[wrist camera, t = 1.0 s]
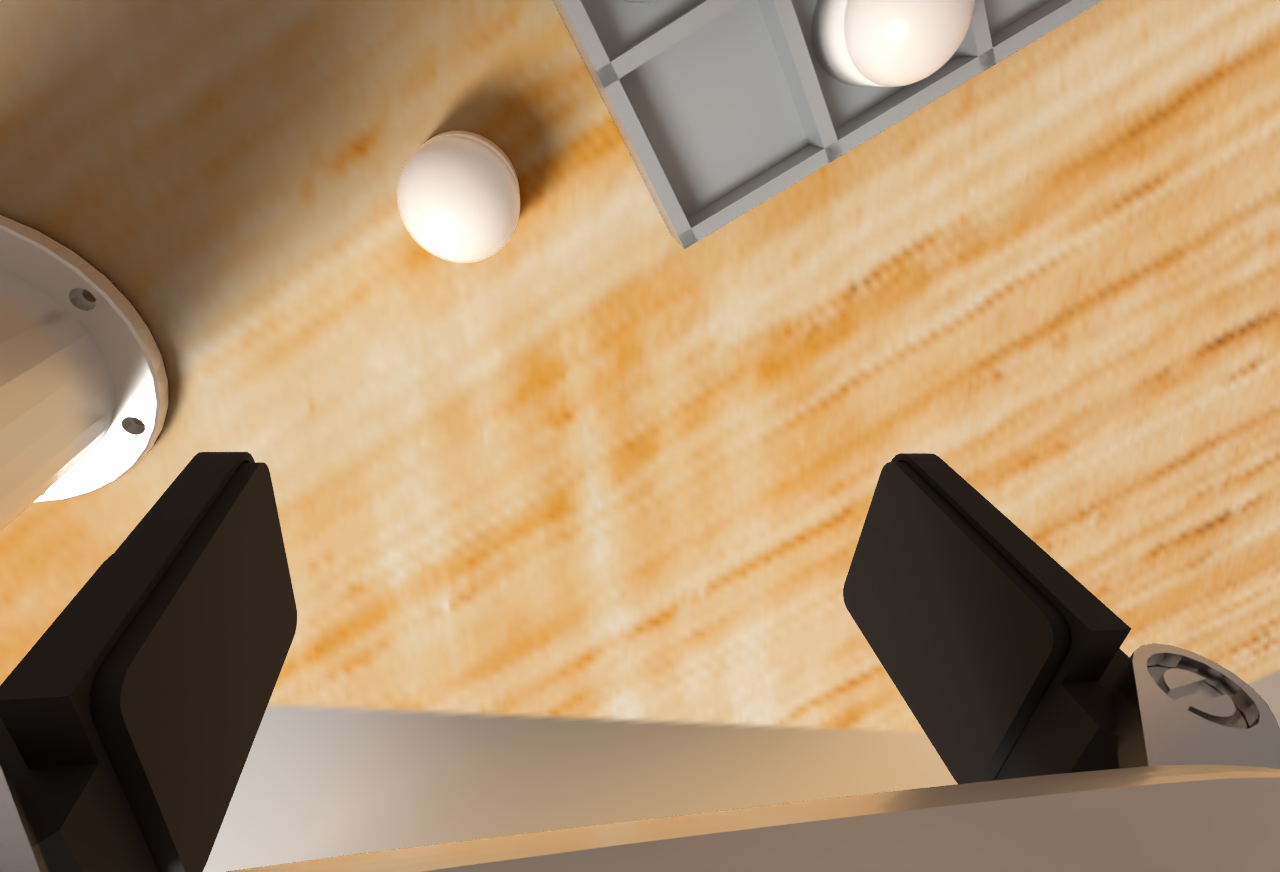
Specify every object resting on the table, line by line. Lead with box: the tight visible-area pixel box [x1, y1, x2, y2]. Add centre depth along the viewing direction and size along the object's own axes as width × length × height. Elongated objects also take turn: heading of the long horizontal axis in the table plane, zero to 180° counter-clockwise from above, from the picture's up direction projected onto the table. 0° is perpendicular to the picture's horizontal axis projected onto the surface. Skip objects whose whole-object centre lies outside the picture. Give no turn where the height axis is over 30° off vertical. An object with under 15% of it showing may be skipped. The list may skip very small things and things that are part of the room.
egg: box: [397, 131, 520, 263], centre depth 24 cm, size 4×4×5 cm
